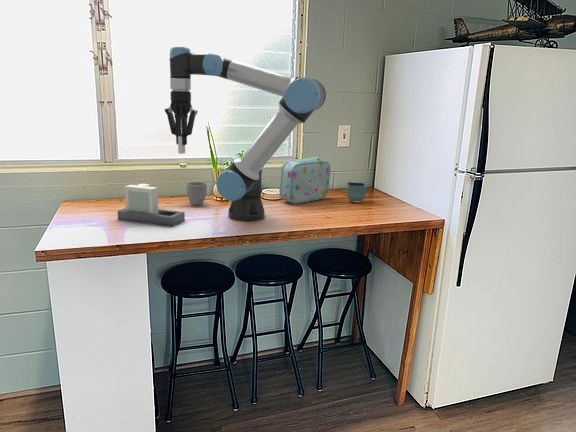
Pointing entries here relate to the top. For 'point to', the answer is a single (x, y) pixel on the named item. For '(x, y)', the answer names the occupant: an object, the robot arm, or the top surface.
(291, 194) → the lunch box
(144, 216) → the grey rectangular tray
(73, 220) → the top surface
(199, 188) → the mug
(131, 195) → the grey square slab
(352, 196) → the flower pot
